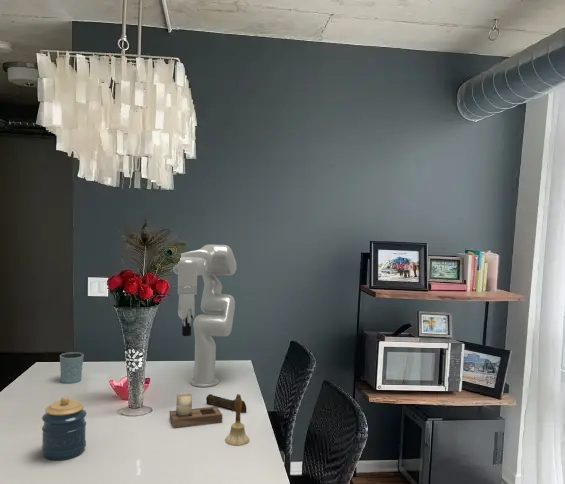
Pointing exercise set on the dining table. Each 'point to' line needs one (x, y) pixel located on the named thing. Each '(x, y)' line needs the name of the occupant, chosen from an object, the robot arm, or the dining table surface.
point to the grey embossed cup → (71, 367)
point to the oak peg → (184, 404)
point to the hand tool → (224, 402)
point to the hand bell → (237, 427)
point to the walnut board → (197, 417)
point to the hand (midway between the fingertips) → (186, 335)
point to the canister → (64, 430)
